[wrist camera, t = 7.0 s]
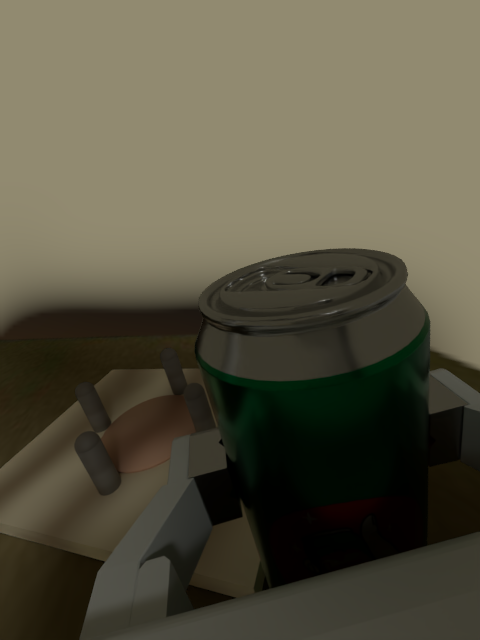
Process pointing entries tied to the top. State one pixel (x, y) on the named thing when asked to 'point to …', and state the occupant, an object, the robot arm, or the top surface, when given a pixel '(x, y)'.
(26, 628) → the top surface
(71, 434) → the can tray
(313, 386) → the soda can
